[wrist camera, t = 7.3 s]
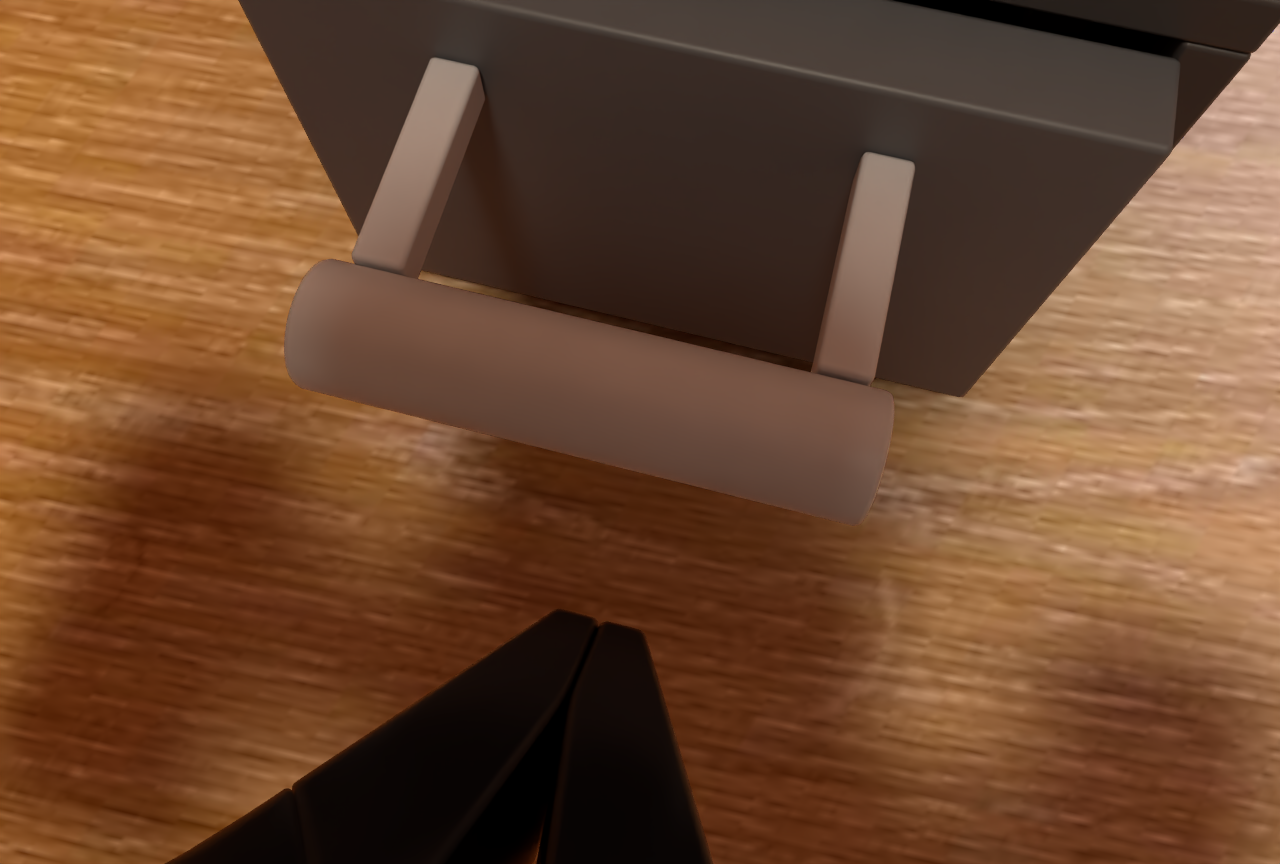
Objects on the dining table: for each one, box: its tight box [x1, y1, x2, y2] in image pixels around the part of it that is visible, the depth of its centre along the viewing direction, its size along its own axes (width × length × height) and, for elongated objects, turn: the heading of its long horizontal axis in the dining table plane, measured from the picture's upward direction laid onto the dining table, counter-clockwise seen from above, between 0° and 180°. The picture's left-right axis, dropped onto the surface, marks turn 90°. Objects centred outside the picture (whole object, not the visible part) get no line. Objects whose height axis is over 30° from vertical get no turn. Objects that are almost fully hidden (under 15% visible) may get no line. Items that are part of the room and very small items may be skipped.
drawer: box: [239, 0, 1180, 526], centre depth 14 cm, size 16×10×7 cm, turn 165°
